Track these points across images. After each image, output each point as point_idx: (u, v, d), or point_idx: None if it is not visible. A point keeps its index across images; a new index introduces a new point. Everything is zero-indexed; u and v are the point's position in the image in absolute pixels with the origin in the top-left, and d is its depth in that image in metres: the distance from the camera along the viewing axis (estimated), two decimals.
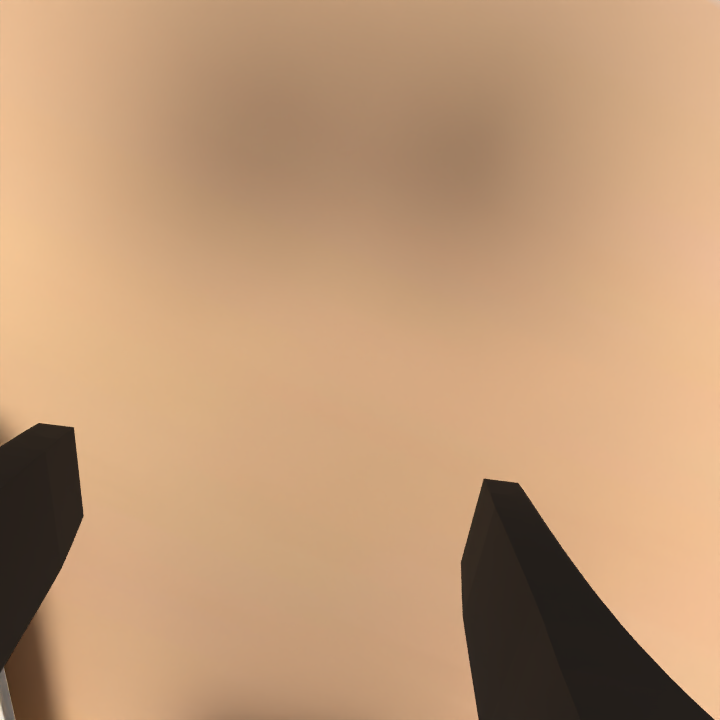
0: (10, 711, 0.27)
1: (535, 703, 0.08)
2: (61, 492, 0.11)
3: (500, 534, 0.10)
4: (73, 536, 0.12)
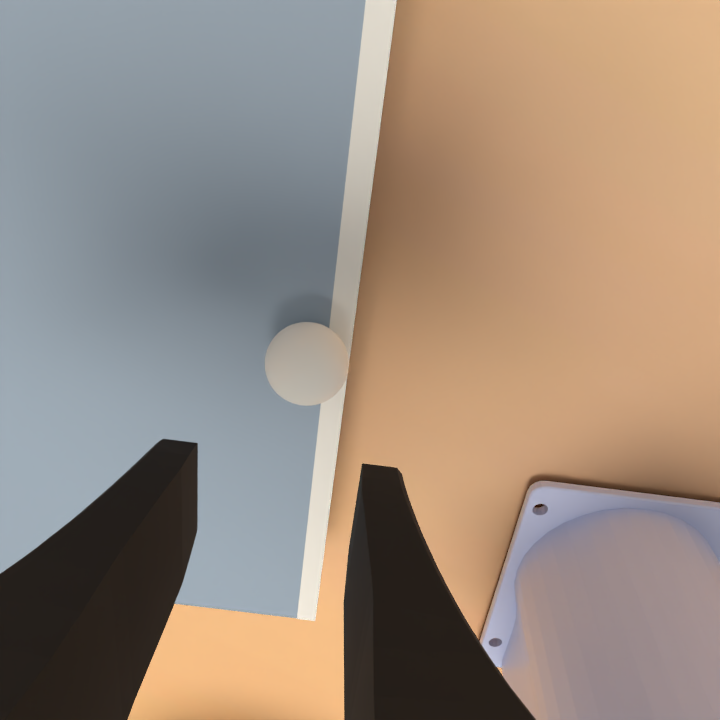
0: None
1: (363, 683, 0.08)
2: (187, 507, 0.11)
3: (362, 517, 0.10)
4: (190, 550, 0.12)
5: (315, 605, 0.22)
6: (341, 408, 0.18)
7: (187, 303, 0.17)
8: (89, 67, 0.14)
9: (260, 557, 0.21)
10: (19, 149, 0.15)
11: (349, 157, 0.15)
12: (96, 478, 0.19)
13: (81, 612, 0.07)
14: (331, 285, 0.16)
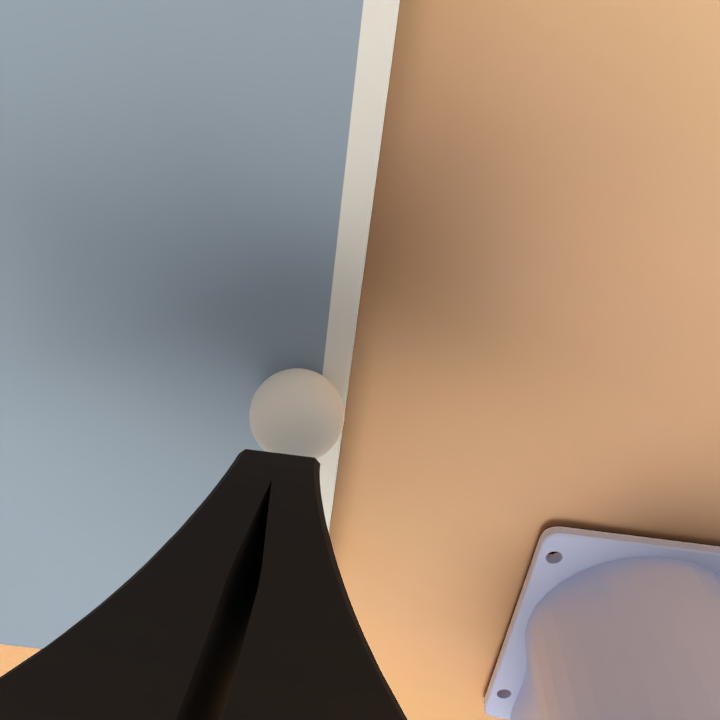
0: None
1: None
2: None
3: None
4: None
5: None
6: (336, 459, 0.16)
7: (163, 346, 0.15)
8: (45, 82, 0.12)
9: None
10: None
11: (344, 185, 0.13)
12: (67, 532, 0.18)
13: (209, 627, 0.07)
14: (325, 327, 0.14)
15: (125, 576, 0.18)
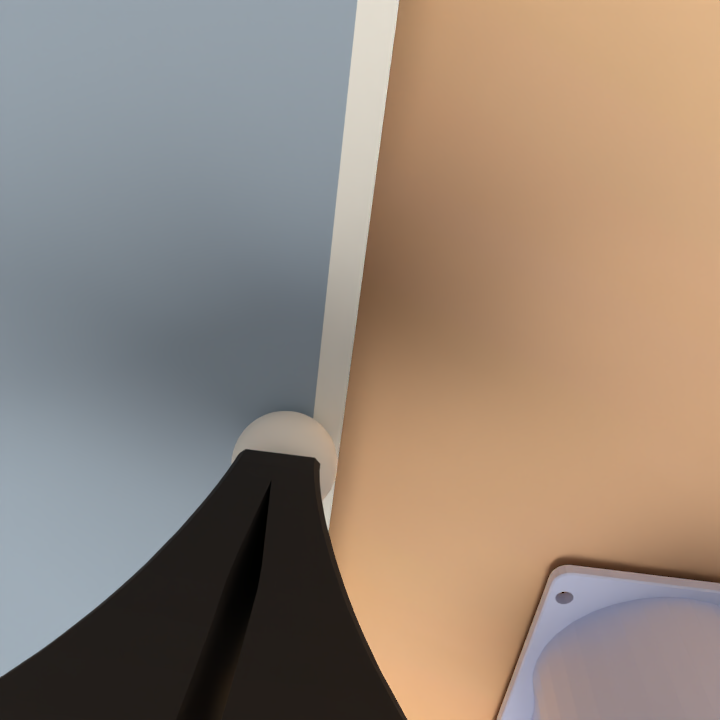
0: None
1: None
2: None
3: None
4: None
5: None
6: (329, 506, 0.15)
7: (136, 384, 0.13)
8: None
9: None
10: None
11: (336, 210, 0.11)
12: (37, 580, 0.16)
13: (209, 627, 0.07)
14: (316, 365, 0.13)
15: None
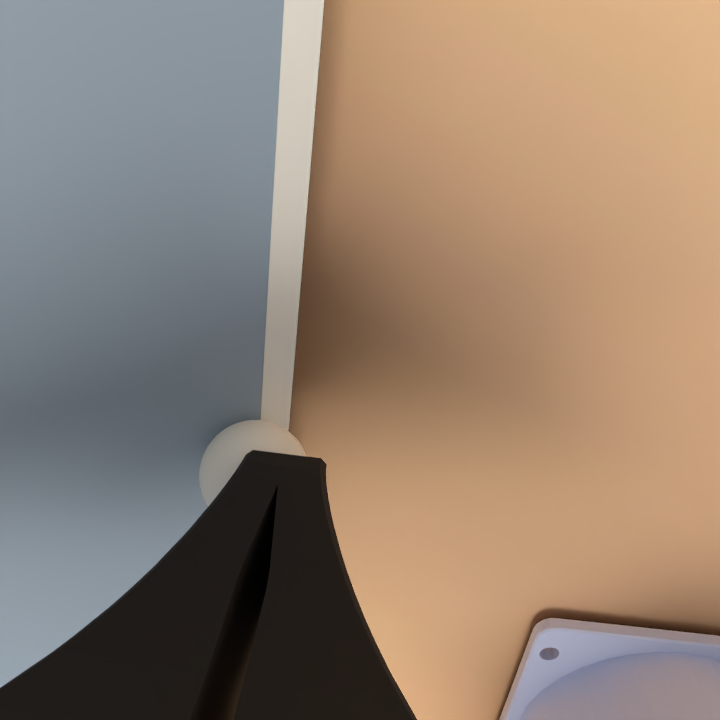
0: None
1: None
2: None
3: None
4: None
5: None
6: None
7: (62, 440, 0.12)
8: None
9: None
10: None
11: (274, 208, 0.11)
12: None
13: (220, 629, 0.07)
14: (260, 368, 0.13)
15: None
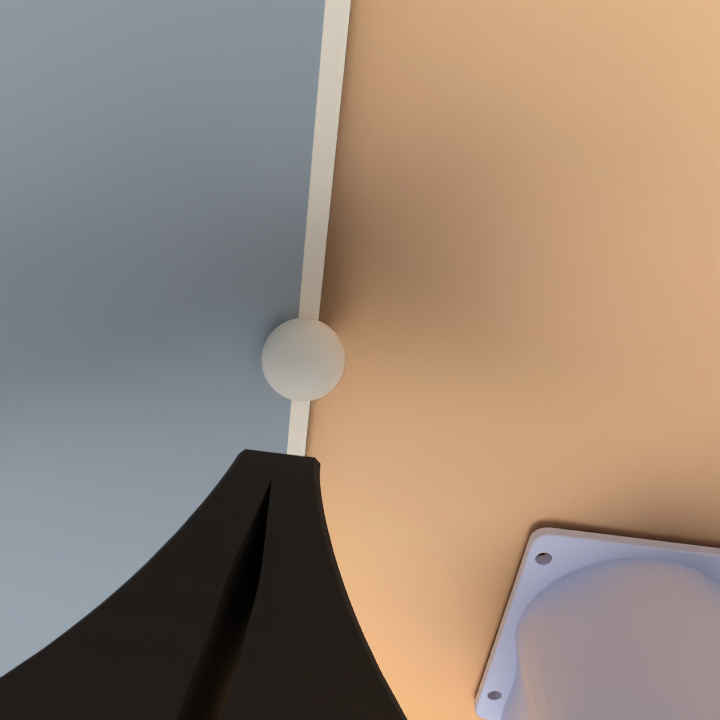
0: None
1: None
2: None
3: None
4: None
5: None
6: None
7: (159, 340, 0.15)
8: (33, 91, 0.11)
9: None
10: None
11: (314, 149, 0.15)
12: (60, 577, 0.16)
13: (209, 627, 0.07)
14: (299, 278, 0.16)
15: None
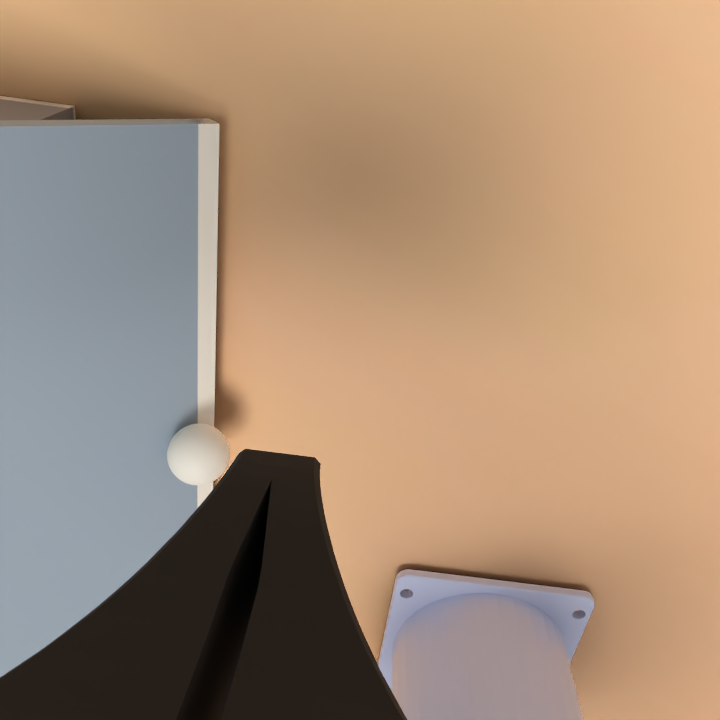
0: None
1: None
2: None
3: None
4: None
5: None
6: None
7: (89, 447, 0.21)
8: None
9: None
10: None
11: (198, 310, 0.21)
12: (20, 614, 0.22)
13: (209, 627, 0.07)
14: (196, 394, 0.22)
15: (70, 624, 0.24)
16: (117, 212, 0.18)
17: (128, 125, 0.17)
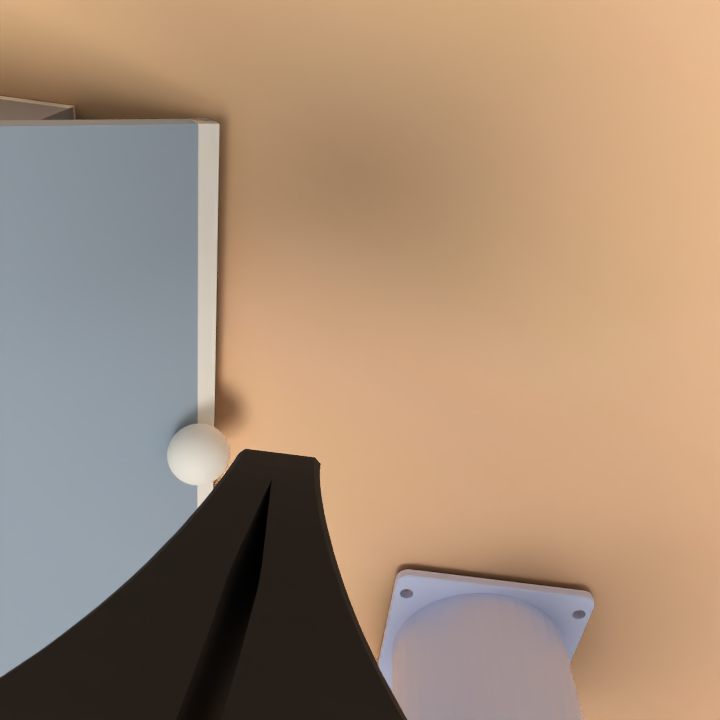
0: None
1: None
2: None
3: None
4: None
5: None
6: None
7: (89, 447, 0.21)
8: None
9: None
10: None
11: (198, 310, 0.21)
12: (20, 614, 0.22)
13: (209, 627, 0.07)
14: (196, 394, 0.22)
15: (70, 624, 0.24)
16: (117, 212, 0.18)
17: (128, 125, 0.17)
